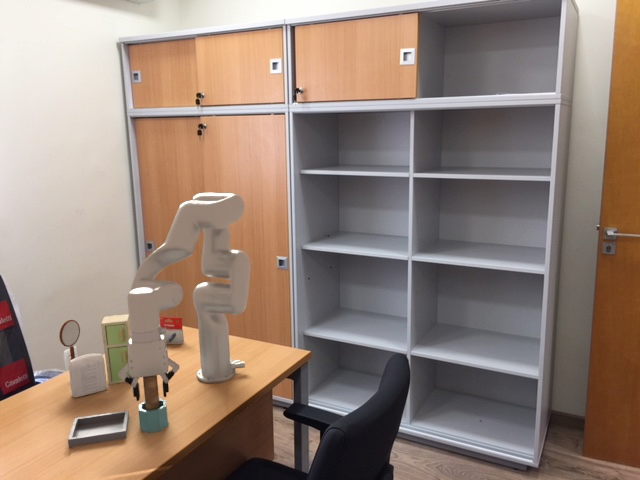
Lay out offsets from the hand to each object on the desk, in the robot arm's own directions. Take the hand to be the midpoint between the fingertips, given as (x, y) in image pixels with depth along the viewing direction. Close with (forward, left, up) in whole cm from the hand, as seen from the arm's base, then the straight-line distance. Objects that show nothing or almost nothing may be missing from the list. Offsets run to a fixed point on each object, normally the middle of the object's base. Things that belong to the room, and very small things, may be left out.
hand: (151, 396), depth 148 cm
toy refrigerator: (+11, -33, -9) cm, 36 cm away
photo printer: (+20, -27, -9) cm, 35 cm away
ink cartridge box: (-4, -61, -9) cm, 62 cm away
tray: (+14, -1, -9) cm, 17 cm away
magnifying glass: (+26, -39, -9) cm, 48 cm away
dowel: (0, 0, -9) cm, 9 cm away
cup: (0, 0, -9) cm, 9 cm away
